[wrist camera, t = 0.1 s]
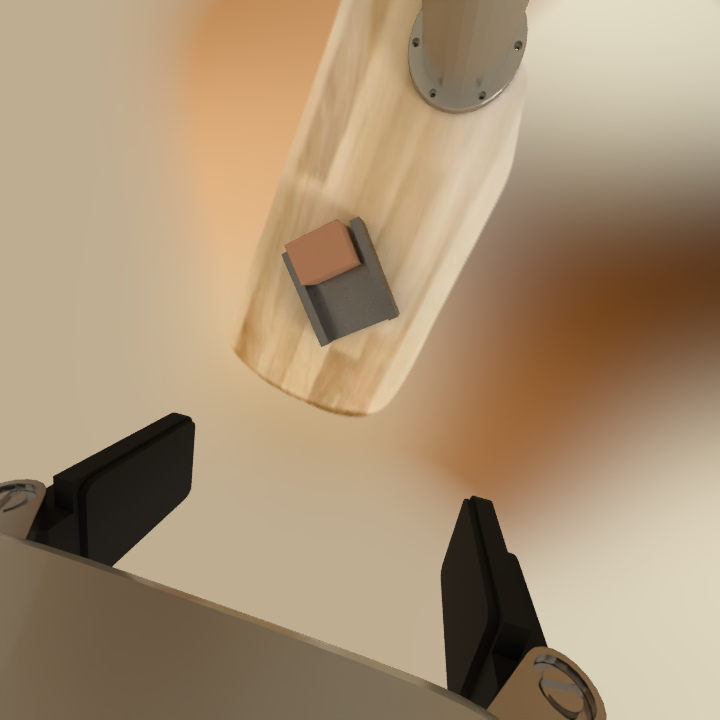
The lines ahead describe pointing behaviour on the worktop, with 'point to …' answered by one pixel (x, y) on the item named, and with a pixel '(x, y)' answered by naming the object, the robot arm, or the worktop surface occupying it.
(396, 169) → the worktop surface
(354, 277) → the chute
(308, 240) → the block
